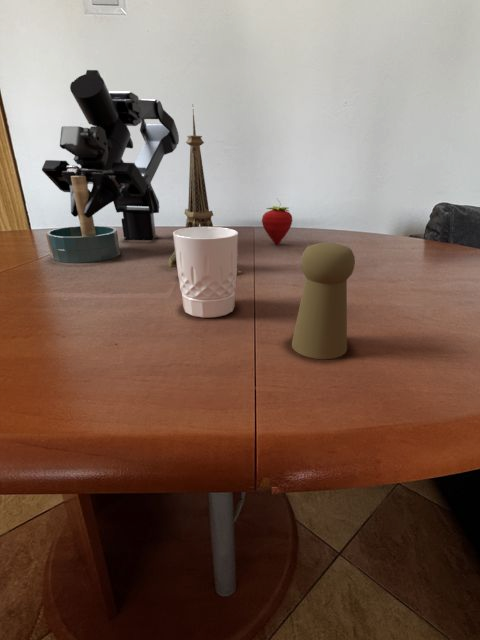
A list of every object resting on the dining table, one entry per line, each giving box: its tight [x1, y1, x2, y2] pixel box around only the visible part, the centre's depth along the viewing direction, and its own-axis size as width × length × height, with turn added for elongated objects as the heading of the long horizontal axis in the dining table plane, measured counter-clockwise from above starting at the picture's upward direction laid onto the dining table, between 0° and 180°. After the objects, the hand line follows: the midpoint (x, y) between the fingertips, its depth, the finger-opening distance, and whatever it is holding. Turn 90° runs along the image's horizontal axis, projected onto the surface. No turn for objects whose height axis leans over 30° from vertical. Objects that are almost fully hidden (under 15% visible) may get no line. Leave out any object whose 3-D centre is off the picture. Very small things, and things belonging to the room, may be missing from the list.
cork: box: [291, 242, 356, 360], centre depth 39 cm, size 6×6×11 cm
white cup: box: [172, 226, 239, 319], centre depth 48 cm, size 8×8×10 cm
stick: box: [71, 176, 96, 237], centre depth 69 cm, size 4×4×13 cm
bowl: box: [45, 225, 121, 264], centre depth 72 cm, size 12×12×5 cm
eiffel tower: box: [165, 103, 243, 279], centre depth 62 cm, size 11×11×25 cm
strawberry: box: [261, 199, 293, 245], centre depth 86 cm, size 6×8×10 cm
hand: (79, 215), depth 67 cm, fingers closed on stick, 2 cm apart
